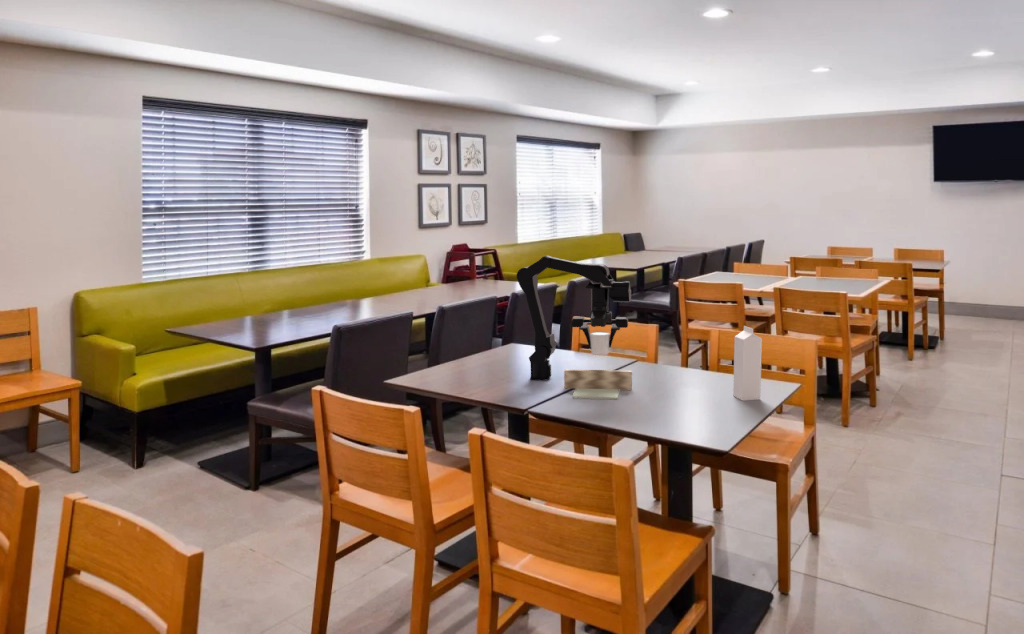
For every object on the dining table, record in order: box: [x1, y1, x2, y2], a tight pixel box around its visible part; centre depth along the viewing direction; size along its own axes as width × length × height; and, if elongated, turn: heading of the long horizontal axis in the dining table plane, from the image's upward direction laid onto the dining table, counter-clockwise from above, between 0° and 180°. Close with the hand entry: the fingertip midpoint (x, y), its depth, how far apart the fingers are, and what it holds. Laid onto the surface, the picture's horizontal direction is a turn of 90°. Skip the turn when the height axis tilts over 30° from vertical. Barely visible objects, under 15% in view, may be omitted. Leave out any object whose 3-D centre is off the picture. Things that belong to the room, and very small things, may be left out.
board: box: [563, 368, 633, 391], centre depth 238 cm, size 22×2×6 cm, turn 79°
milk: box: [732, 325, 763, 402], centre depth 221 cm, size 6×6×22 cm
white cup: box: [590, 331, 611, 356], centre depth 246 cm, size 7×7×7 cm
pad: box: [572, 388, 620, 400], centre depth 230 cm, size 14×10×1 cm
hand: (599, 347), depth 246 cm, fingers closed on white cup, 6 cm apart
